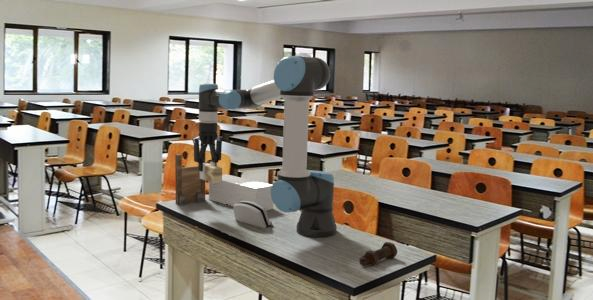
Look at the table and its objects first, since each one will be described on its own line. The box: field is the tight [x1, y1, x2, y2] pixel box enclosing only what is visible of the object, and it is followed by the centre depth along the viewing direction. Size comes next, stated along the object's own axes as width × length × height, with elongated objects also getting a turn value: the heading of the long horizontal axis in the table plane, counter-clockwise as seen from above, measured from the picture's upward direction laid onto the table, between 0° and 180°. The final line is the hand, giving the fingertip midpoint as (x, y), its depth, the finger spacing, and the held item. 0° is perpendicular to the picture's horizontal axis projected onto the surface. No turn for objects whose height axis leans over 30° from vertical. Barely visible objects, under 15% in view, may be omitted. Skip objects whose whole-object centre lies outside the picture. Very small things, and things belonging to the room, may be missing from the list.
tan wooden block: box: [197, 162, 223, 183], centre depth 222 cm, size 12×4×6 cm, turn 41°
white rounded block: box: [232, 201, 274, 229], centre depth 214 cm, size 17×5×10 cm, turn 49°
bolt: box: [359, 241, 398, 267], centre depth 174 cm, size 6×5×15 cm
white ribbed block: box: [208, 174, 274, 211], centre depth 244 cm, size 32×11×11 cm, turn 47°
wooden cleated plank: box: [174, 153, 206, 206], centre depth 244 cm, size 4×14×22 cm, turn 130°
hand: (207, 178), depth 224 cm, fingers closed on tan wooden block, 4 cm apart
